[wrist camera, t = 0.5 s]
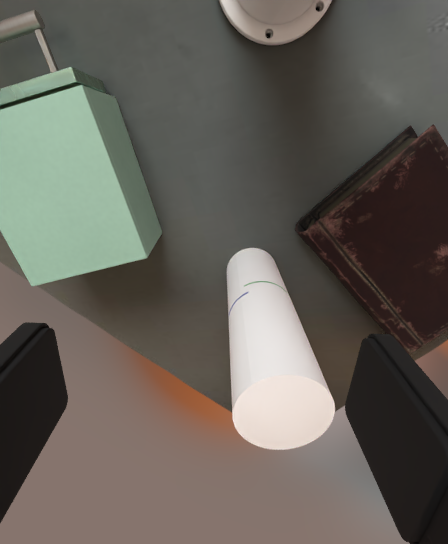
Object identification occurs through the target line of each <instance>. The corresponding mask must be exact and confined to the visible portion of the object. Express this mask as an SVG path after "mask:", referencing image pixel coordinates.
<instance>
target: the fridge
mask: <svg viewBox="0 0 448 544" xmlns="http://www.w3.org/2000/svg"><path fill="white" fill-rule="evenodd" d="M0 231H1V233H2V234H3V236H4V238H5V240H6V242H7V243H8V245H9V247H10V249H11V250H12V252H13V254H14V256H15V258H16V259H17V261H18V263H19V265H20V266H21V268H22V270H23V272H24V274H25V275H26V277H27V279H28V281H29V283H30V284H31V286H36V285H40V284H44V283H48V282H52V281H56V280H60V279H64V278H69V277H73V276H77V275H81V274H85V273H89V272H93V271H97V270H101V269H105V268H109V267H113V266H117V265H121V264H125V263H129V262H133V261H137V260H141V259H145V258H147V257H148V256H149V254H150V252H151V251H152V249H153V247H154V246H155V244H156V242H157V241H158V239H159V238H160V236H161V234H162V230H161V227H160V224H159V221H158V218H157V215H156V213H155V210H154V207H153V204H152V201H151V198H150V195H149V192H148V189H147V187H146V184H145V181H144V178H143V175H142V172H141V169H140V166H139V163H138V161H137V158H136V155H135V152H134V149H133V146H132V143H131V140H130V137H129V135H128V132H127V129H126V126H125V123H124V120H123V117H122V114H121V111H120V109H119V106H118V103H117V100H116V98H115V97H113V96H110V95H108V94H105V93H102V92H99V91H97V90H94V89H91V88H88V87H86V86H83V85H80V86H77V87H73V88H70V89H67V90H63V91H60V92H57V93H54V94H50V95H47V96H44V97H41V98H37V99H34V100H31V101H28V102H24V103H21V104H18V105H15V106H11V107H8V108H5V109H1V110H0Z"/></svg>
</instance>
